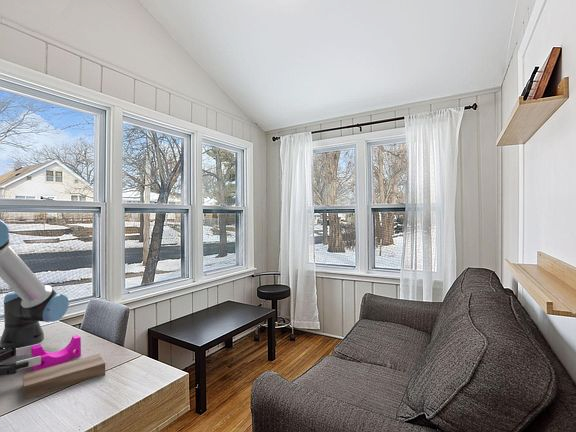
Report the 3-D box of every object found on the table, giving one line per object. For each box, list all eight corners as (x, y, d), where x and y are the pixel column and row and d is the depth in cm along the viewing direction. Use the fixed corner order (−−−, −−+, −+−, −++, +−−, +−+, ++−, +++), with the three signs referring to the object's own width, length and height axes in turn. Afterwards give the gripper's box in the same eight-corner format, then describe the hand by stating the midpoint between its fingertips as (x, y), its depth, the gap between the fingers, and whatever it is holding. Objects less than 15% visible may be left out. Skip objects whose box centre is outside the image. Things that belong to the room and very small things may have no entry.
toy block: (34, 371, 114) (34, 351, 114) (31, 366, 118) (31, 346, 118) (82, 357, 125) (82, 338, 125) (78, 352, 129) (78, 334, 129)
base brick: (22, 386, 104) (22, 374, 104) (99, 364, 118) (99, 353, 118) (24, 399, 96) (23, 386, 96) (105, 374, 111) (105, 363, 111)
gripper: (-40, 370, 110) (37, 352, 124) (-51, 402, 91) (42, 376, 105) (-40, 349, 110) (37, 333, 124) (-51, 376, 91) (41, 354, 105)
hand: (39, 353), depth 115 cm, fingers open, 13 cm apart
